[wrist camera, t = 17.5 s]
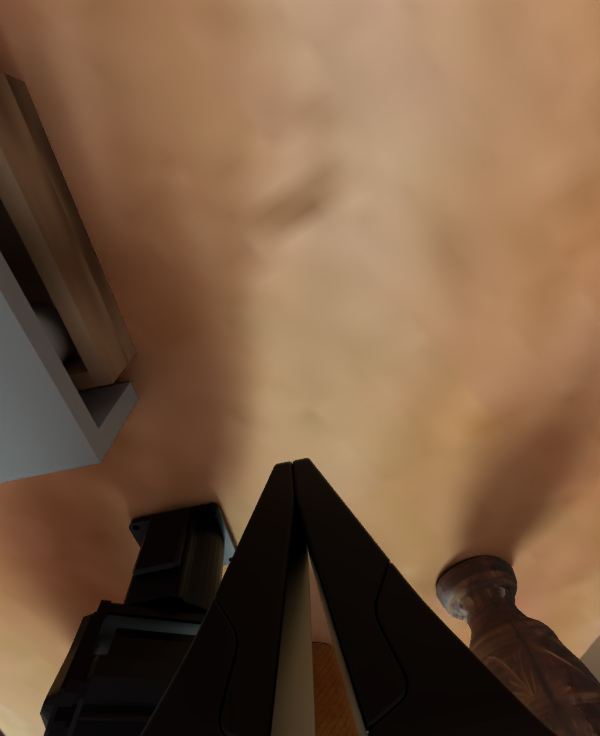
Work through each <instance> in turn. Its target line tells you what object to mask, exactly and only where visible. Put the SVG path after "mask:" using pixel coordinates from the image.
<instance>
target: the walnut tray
mask: <svg viewBox="0 0 600 736" xmlns="http://www.w3.org/2000/svg"><path fill="white" fill-rule="evenodd" d="M0 252H1V253H2V255H3V257H4V259H5V261H6V262H7V264H8V266H9V268H10V270H11V272H12V273H13V275H14V277H15V279H16V281H17V282H18V284H19V286H20V288H21V290H22V291H23V293H24V295H25V297H26V299H27V301H28V302H29V304H30V306H31V308H32V310H33V311H34V313H35V315H36V317H37V319H38V320H39V322H40V324H41V326H42V328H43V330H44V331H45V333H46V335H47V337H48V339H49V340H50V342H51V344H52V346H53V348H54V349H55V351H56V353H57V355H58V357H59V359H60V360H61V362H62V364H63V366H64V368H65V369H66V371H67V373H68V375H69V377H70V379H71V380H72V382H73V384H74V386H75V388H76V389H77V390H81V389H87V388H92V387H98V386H103V385H109V384H113V383H114V382H115V380H116V379H117V378H118V376H119V375H120V374H121V372H122V371H123V370H124V369H125V367H126V366H127V365H128V363H129V362H130V361H131V359H132V358H133V357H134V355H135V354H136V350H135V348H134V345H133V343H132V340H131V338H130V336H129V333H128V331H127V328H126V326H125V324H124V321H123V319H122V316H121V314H120V312H119V309H118V307H117V304H116V302H115V300H114V297H113V295H112V292H111V290H110V288H109V285H108V283H107V280H106V278H105V276H104V273H103V271H102V268H101V266H100V264H99V261H98V259H97V256H96V254H95V252H94V249H93V247H92V244H91V242H90V240H89V237H88V235H87V232H86V230H85V228H84V225H83V223H82V220H81V218H80V216H79V213H78V211H77V208H76V206H75V204H74V201H73V199H72V196H71V194H70V192H69V189H68V187H67V184H66V182H65V180H64V177H63V175H62V172H61V170H60V168H59V165H58V163H57V160H56V158H55V156H54V153H53V151H52V148H51V146H50V144H49V141H48V139H47V136H46V134H45V132H44V129H43V127H42V124H41V122H40V120H39V117H38V115H37V112H36V110H35V108H34V105H33V103H32V100H31V98H30V96H29V93H28V91H27V88H26V86H25V84H24V82H22V81H20V80H18V79H16V78H14V77H12V76H9V75H7V74H5V73H3V72H1V71H0Z"/></svg>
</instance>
